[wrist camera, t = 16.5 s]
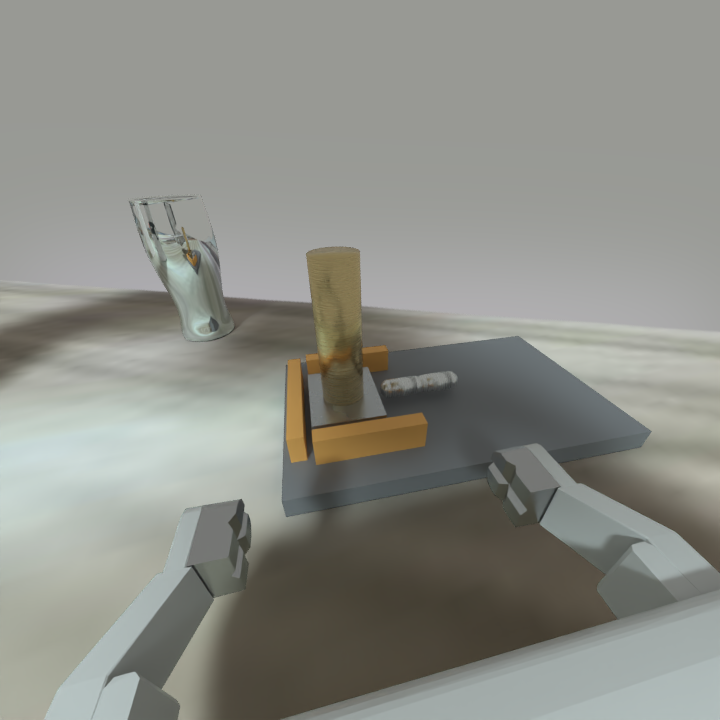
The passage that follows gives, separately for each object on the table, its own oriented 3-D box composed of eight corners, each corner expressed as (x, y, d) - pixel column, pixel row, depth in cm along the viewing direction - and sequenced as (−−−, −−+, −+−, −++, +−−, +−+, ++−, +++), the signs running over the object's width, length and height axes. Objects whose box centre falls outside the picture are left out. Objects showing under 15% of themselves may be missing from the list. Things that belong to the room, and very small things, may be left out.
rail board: (286, 516, 17) (275, 477, 15) (288, 377, 29) (282, 346, 27) (640, 447, 21) (667, 408, 19) (514, 348, 32) (523, 318, 30)
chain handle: (313, 437, 20) (287, 270, 14) (309, 384, 25) (288, 244, 19) (474, 411, 21) (511, 252, 16) (439, 366, 26) (458, 233, 21)
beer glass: (246, 331, 38) (211, 195, 30) (186, 350, 34) (129, 201, 26) (228, 315, 42) (194, 193, 34) (174, 329, 39) (121, 198, 31)
